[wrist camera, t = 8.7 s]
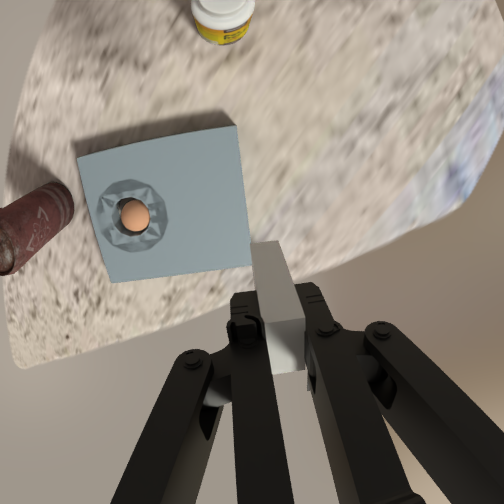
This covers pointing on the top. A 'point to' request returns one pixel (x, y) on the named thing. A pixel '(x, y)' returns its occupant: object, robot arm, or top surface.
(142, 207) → the ball
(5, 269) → the can
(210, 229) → the board
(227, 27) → the supplement bottle
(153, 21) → the top surface
